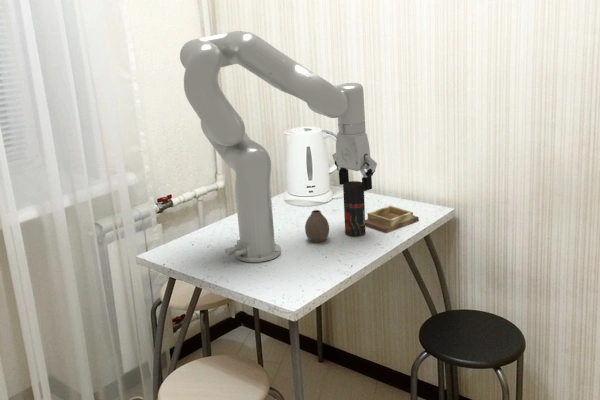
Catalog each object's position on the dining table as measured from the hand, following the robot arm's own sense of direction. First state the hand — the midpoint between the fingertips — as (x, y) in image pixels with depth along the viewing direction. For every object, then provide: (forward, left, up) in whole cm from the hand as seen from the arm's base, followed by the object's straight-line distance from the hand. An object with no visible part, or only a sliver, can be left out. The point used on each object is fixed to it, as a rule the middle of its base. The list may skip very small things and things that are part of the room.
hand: (355, 186), depth 189 cm
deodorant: (-1, 0, -14) cm, 14 cm away
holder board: (+12, -1, -14) cm, 19 cm away
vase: (-12, +4, -14) cm, 19 cm away
